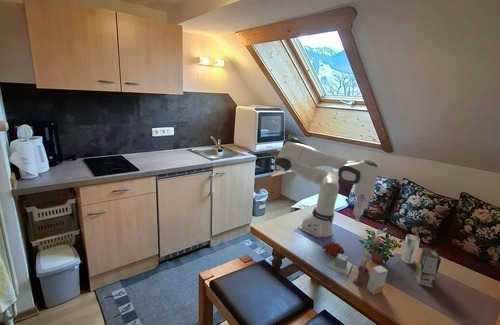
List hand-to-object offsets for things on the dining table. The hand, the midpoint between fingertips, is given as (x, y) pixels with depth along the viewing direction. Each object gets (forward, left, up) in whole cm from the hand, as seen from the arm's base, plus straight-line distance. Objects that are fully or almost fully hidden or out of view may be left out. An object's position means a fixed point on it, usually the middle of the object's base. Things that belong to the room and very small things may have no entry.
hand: (358, 217), depth 137 cm
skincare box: (+15, -13, -28) cm, 34 cm away
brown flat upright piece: (+7, -6, -28) cm, 30 cm away
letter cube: (-3, -5, -27) cm, 28 cm away
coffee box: (+35, +11, -28) cm, 46 cm away
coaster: (-3, -5, -28) cm, 29 cm away
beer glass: (+27, +25, -28) cm, 46 cm away
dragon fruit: (-9, 0, -28) cm, 29 cm away
